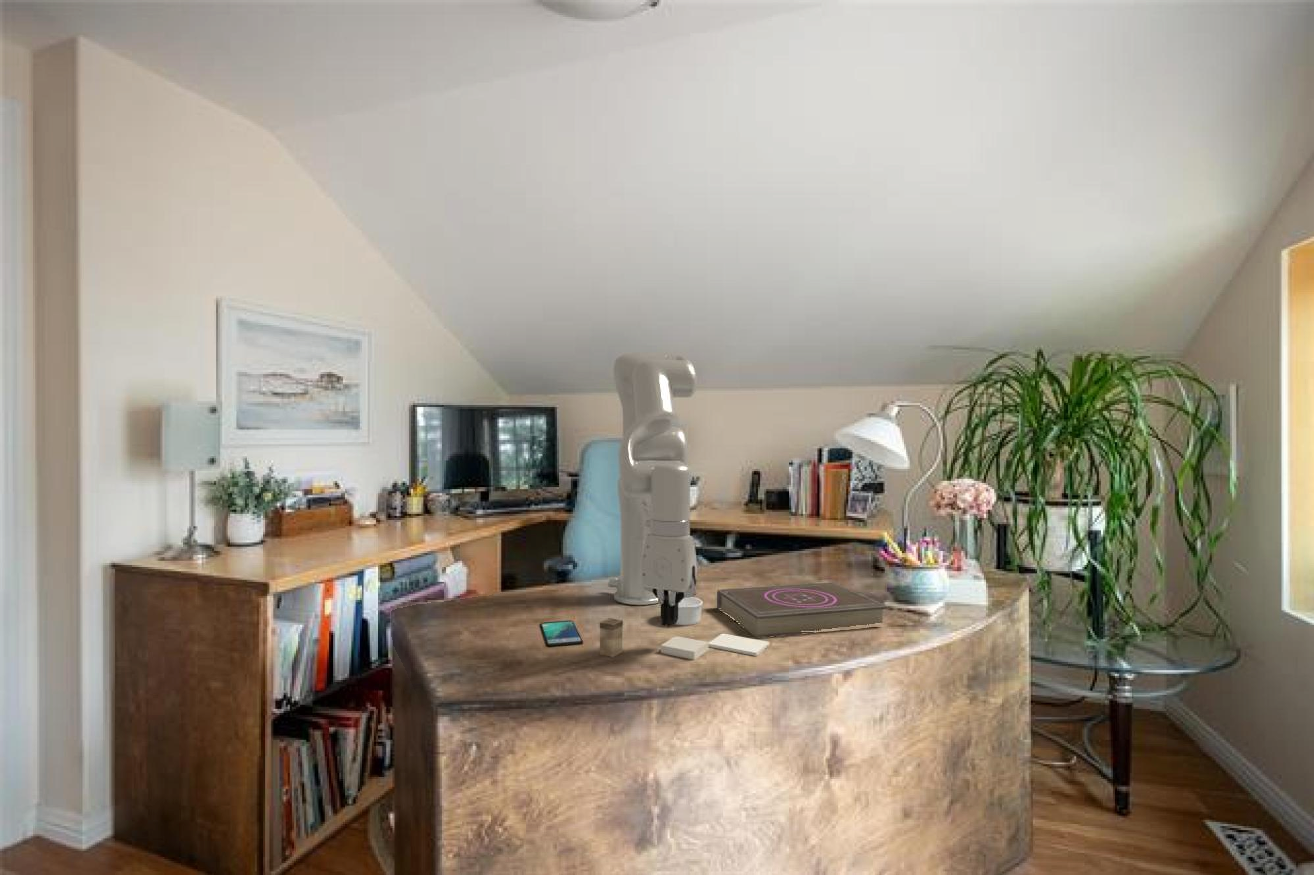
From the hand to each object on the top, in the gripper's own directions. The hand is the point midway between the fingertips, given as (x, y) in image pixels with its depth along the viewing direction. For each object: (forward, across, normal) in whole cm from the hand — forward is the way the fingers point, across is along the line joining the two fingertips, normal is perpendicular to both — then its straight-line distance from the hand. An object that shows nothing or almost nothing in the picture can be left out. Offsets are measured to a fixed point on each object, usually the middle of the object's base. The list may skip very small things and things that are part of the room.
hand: (669, 623), depth 121 cm
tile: (+4, 0, 0) cm, 4 cm away
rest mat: (+5, +11, +8) cm, 14 cm away
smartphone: (+5, -23, -4) cm, 24 cm away
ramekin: (+5, -6, +17) cm, 19 cm away
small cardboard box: (+5, -8, -8) cm, 12 cm away
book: (+5, +15, +33) cm, 36 cm away
